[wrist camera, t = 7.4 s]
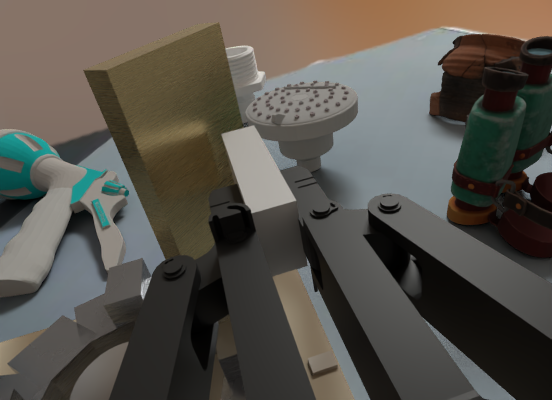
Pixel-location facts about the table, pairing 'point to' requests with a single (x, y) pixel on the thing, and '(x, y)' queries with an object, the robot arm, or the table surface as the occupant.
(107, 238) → the garden hose nozzle
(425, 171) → the table surface
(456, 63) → the brown leather pouch
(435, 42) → the table surface
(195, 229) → the block ring with board
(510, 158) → the binoculars
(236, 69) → the pipe fitting
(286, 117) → the showerhead
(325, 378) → the base
